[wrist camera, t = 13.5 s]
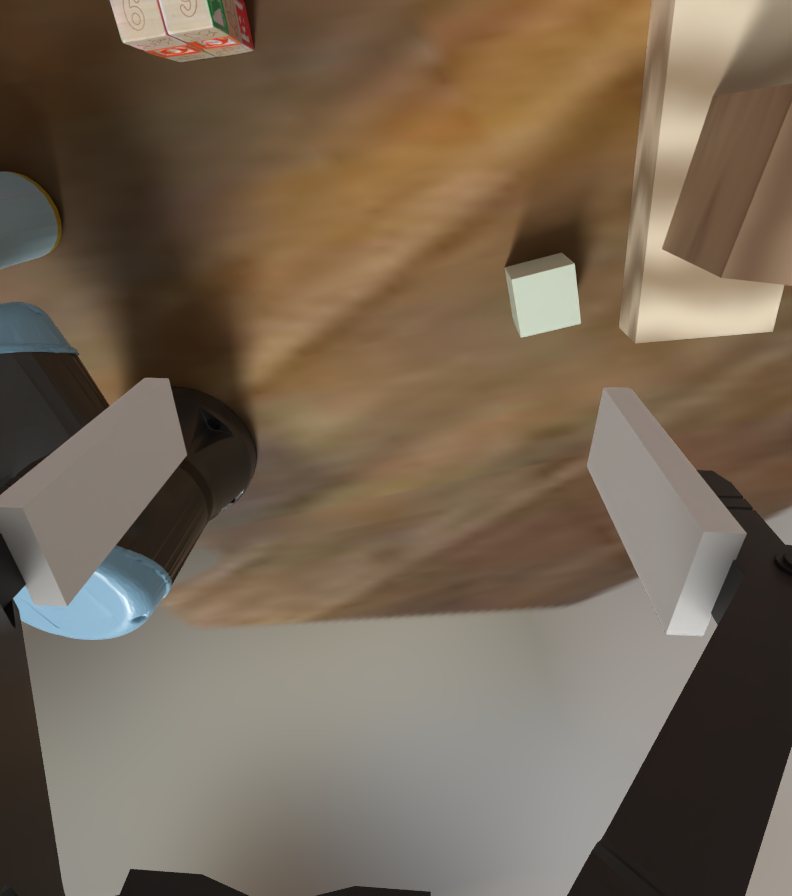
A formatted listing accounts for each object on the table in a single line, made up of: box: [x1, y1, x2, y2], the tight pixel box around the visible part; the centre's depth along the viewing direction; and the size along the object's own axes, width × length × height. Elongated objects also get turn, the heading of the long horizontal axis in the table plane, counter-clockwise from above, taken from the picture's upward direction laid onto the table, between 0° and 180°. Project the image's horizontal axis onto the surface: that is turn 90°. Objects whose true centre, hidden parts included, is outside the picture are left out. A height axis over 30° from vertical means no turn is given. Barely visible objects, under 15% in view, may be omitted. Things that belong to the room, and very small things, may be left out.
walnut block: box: [662, 84, 792, 286], centre depth 34 cm, size 6×10×10 cm, turn 175°
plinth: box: [619, 0, 792, 343], centre depth 41 cm, size 24×11×5 cm, turn 7°
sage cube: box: [505, 253, 581, 338], centre depth 45 cm, size 5×5×5 cm
